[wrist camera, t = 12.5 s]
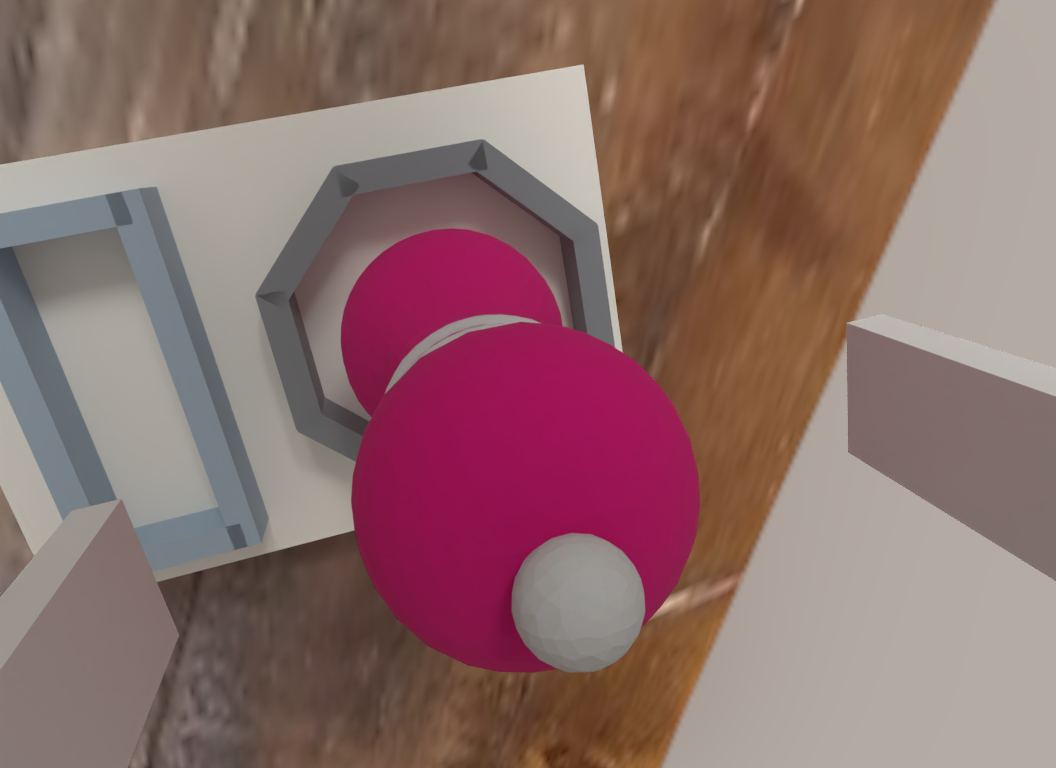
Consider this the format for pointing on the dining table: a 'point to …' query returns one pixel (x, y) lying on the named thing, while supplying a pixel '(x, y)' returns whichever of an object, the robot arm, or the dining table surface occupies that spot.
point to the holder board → (256, 301)
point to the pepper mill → (508, 462)
